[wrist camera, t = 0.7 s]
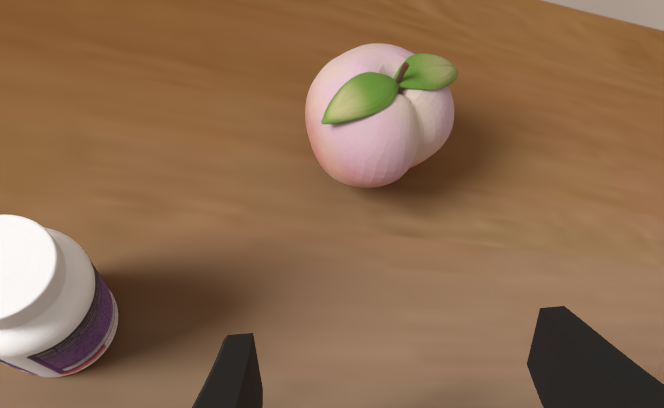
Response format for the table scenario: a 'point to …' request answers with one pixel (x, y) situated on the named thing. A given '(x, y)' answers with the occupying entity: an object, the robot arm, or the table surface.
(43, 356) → the pill bottle
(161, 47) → the table surface
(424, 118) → the decorative fruit
